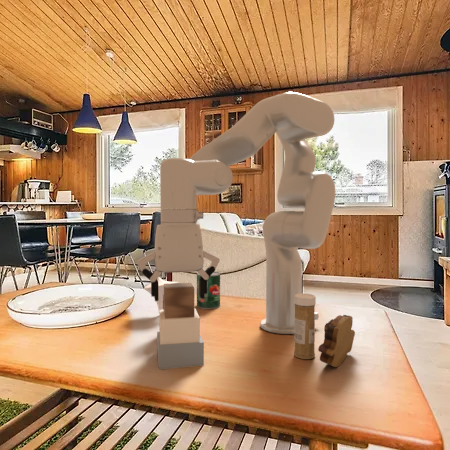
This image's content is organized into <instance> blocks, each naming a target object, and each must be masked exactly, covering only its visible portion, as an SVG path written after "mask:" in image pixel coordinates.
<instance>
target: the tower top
mask: <svg viewBox="0 0 450 450" xmlns="http://www.w3.org/2000/svg"><path fill="white" fill-rule="evenodd" d="M158 314H159V316H158V318H159V320H158V321H159V332H160V345H162V344H177V343H193V342H200V336H201V321H200V320H201V318H200V316H199V314H198V311H197V309H196V307H194V317H186V318H167V319H165V315H164V310H159V309H158Z"/></svg>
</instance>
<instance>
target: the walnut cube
mask: <svg viewBox="0 0 450 450" xmlns="http://www.w3.org/2000/svg"><path fill="white" fill-rule="evenodd" d="M194 308H195V287H194V285H193V283H192V282H179V283H171V284H164V315H165V319H167V318H186V317H194Z"/></svg>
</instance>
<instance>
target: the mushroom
mask: <svg viewBox="0 0 450 450" xmlns="http://www.w3.org/2000/svg"><path fill="white" fill-rule="evenodd" d="M157 280H158V299H159V300H158V301H155V302H156V304H157V308H158V311H159V310H163V294H164V284H171V283H180V282H179V281H166V280H164V279H162V278H161V277H160V276H159V277H158V278H157ZM142 289H143V290H144V291H146V292H147V293H149V294H150V295H151V282H150V283H149V284H148V285H146V286H145V287H143V288H142ZM153 299H155V296H153Z"/></svg>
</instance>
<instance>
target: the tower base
mask: <svg viewBox="0 0 450 450" xmlns="http://www.w3.org/2000/svg"><path fill="white" fill-rule="evenodd" d="M156 334H157V335H156V337H157V338H156V342H157V347H156V352H157V362H158V369H159V370H165V369H166V370H167V369H178V368H190V367H191V368H192V367H198V366H199V367H200V366H201V367H202V366H204V365H205V361H204V360H205V355H204V354H205V350H204V349H205V342H204V340H203V338H202V336H201V335H200V342H193V343H177V344H162V345H160V331H157V333H156Z"/></svg>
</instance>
